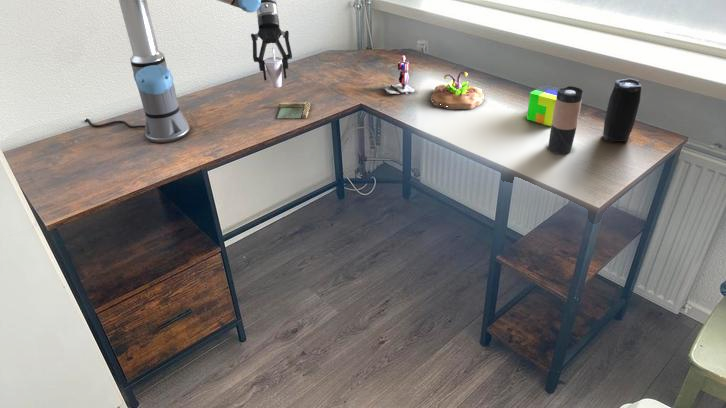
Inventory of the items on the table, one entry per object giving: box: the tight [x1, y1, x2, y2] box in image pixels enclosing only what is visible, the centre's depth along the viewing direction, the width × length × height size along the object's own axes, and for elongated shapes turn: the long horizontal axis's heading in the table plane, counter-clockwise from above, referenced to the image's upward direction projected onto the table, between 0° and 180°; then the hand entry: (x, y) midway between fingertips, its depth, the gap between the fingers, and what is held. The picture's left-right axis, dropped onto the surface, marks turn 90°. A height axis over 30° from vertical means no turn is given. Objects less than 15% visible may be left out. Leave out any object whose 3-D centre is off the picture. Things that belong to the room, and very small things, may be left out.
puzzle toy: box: [526, 84, 560, 127], centre depth 195 cm, size 10×10×10 cm
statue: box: [381, 55, 416, 95], centre depth 220 cm, size 11×9×15 cm
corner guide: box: [276, 101, 311, 120], centre depth 209 cm, size 12×12×2 cm
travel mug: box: [548, 85, 584, 155], centre depth 174 cm, size 8×8×20 cm
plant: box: [430, 71, 485, 110], centre depth 212 cm, size 20×20×11 cm
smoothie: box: [263, 47, 283, 89], centre depth 196 cm, size 6×6×14 cm
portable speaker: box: [602, 77, 643, 144], centre depth 178 cm, size 9×9×20 cm
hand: (275, 77), depth 195 cm, fingers closed on smoothie, 6 cm apart
